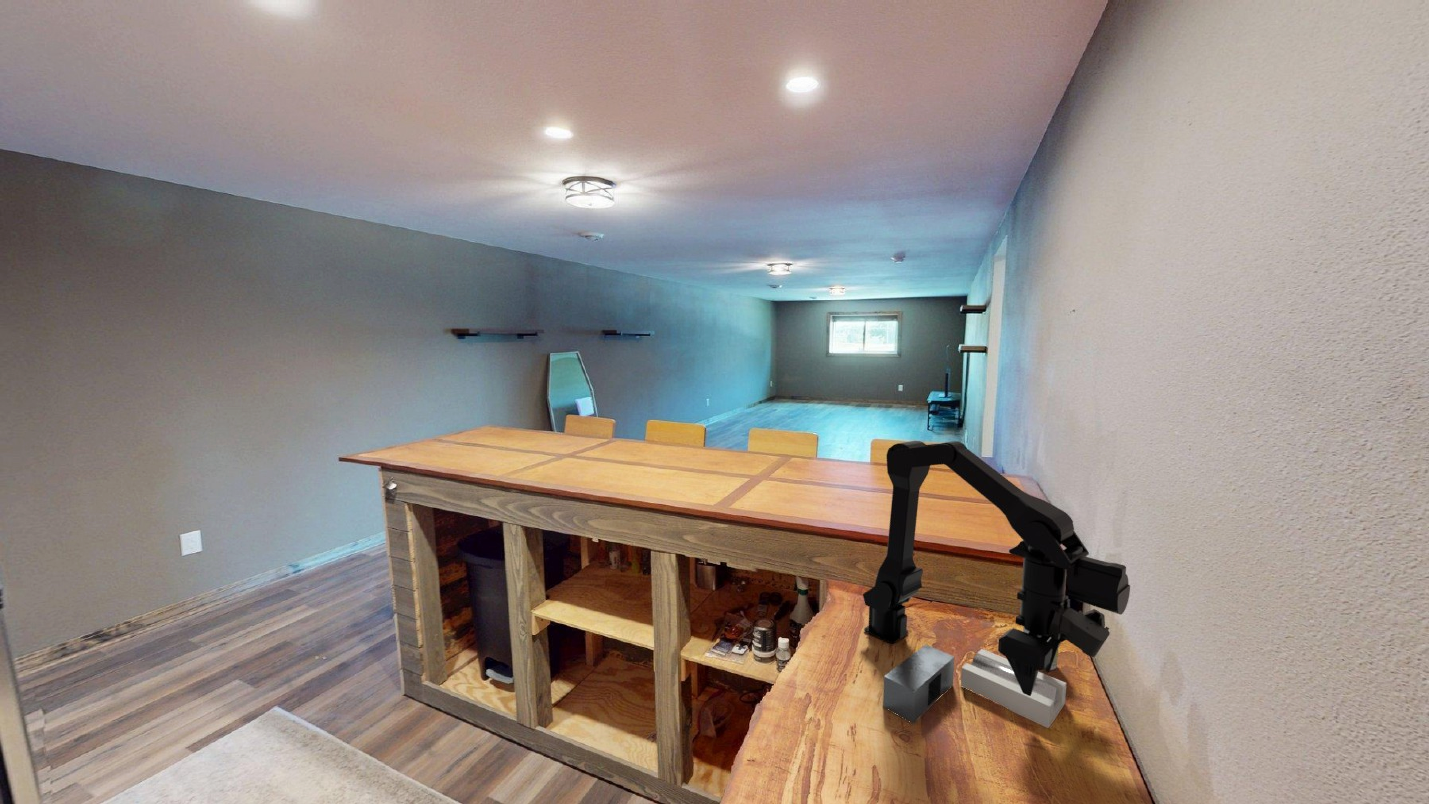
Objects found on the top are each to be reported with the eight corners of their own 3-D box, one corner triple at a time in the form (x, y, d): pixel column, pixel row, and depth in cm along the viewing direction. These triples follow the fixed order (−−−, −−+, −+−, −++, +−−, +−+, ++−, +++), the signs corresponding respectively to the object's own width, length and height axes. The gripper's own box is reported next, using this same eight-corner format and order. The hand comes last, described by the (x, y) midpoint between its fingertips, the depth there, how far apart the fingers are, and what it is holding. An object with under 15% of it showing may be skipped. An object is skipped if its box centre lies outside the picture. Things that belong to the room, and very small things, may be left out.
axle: (970, 676, 88) (971, 658, 88) (978, 669, 90) (979, 652, 90) (1051, 712, 79) (1052, 692, 79) (1057, 703, 82) (1058, 684, 81)
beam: (882, 707, 82) (884, 676, 81) (924, 672, 91) (925, 644, 91) (912, 723, 78) (914, 691, 78) (952, 685, 87) (954, 656, 87)
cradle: (960, 686, 87) (961, 667, 87) (980, 667, 93) (981, 648, 92) (1048, 728, 77) (1049, 706, 77) (1065, 703, 83) (1066, 682, 83)
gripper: (1089, 628, 69) (1081, 738, 70) (1119, 588, 81) (1112, 682, 82) (999, 599, 77) (993, 697, 78) (1039, 566, 89) (1034, 652, 91)
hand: (1036, 682), depth 82 cm, fingers open, 9 cm apart
